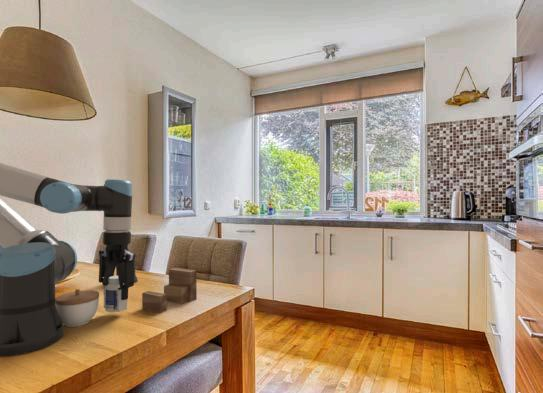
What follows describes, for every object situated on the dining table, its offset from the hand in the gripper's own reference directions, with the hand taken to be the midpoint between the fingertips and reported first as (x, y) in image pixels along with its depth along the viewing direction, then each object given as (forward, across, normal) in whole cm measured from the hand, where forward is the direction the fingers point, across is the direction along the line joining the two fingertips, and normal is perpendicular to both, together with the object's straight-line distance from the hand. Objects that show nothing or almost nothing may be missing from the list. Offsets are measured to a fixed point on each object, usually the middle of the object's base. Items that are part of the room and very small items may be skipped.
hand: (115, 308), depth 95 cm
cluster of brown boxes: (+2, -6, -15) cm, 17 cm away
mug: (+2, +30, -26) cm, 40 cm away
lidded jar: (+3, +4, +8) cm, 10 cm away
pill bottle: (+1, 0, 0) cm, 1 cm away
